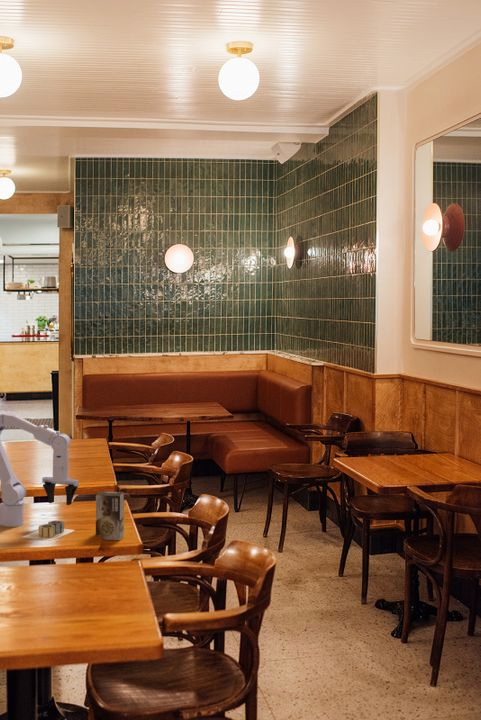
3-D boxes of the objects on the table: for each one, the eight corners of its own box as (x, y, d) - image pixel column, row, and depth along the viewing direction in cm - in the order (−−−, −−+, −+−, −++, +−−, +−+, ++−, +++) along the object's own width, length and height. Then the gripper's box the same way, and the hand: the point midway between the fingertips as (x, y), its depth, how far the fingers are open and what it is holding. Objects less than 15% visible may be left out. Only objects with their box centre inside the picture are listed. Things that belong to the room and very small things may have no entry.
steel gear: (45, 532, 293) (45, 523, 293) (53, 529, 298) (53, 520, 298) (58, 534, 291) (58, 524, 291) (66, 530, 297) (66, 521, 296)
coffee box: (124, 536, 296) (125, 491, 295) (119, 540, 290) (120, 495, 289) (99, 534, 297) (100, 490, 296) (94, 539, 290) (95, 494, 290)
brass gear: (37, 537, 286) (37, 528, 286) (40, 533, 292) (40, 524, 292) (53, 537, 286) (53, 528, 286) (56, 533, 292) (56, 524, 292)
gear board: (21, 540, 287) (21, 525, 286) (46, 530, 302) (46, 516, 302) (51, 544, 283) (51, 529, 283) (75, 533, 298) (75, 519, 298)
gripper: (83, 467, 303) (82, 503, 303) (50, 463, 308) (49, 499, 308) (73, 470, 296) (72, 507, 297) (39, 466, 301) (38, 503, 302)
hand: (60, 503), depth 302 cm, fingers open, 7 cm apart
